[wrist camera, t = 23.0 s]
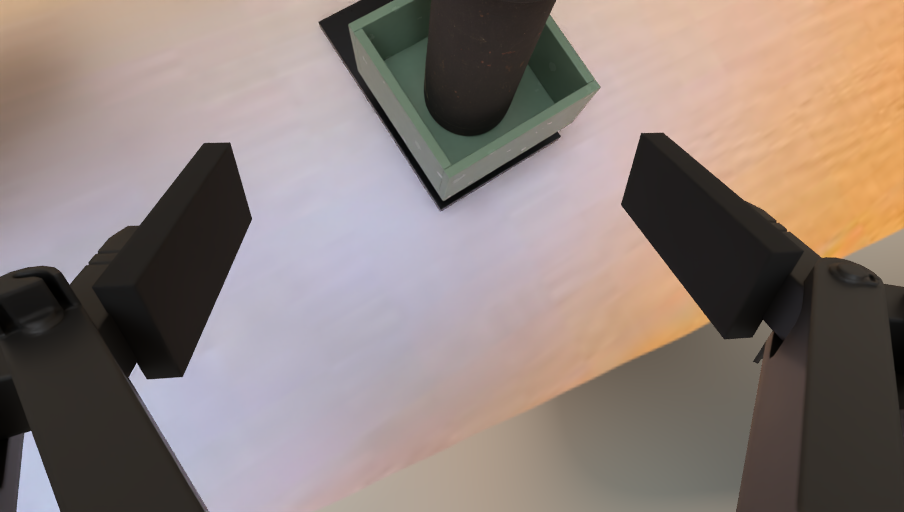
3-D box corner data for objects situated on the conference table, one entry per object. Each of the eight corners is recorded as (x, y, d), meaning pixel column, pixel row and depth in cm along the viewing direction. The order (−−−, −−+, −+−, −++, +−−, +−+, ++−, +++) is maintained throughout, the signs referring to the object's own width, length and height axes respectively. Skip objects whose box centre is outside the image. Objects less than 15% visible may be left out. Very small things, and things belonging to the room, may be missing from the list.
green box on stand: (319, 26, 47) (224, -281, 23) (439, -36, 49) (466, -376, 25) (440, 211, 46) (472, 89, 21) (558, 139, 48) (708, -46, 24)
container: (503, 43, 43) (580, -189, 24) (522, 133, 42) (620, -32, 23) (412, 54, 42) (413, -178, 23) (430, 146, 41) (447, -13, 22)
